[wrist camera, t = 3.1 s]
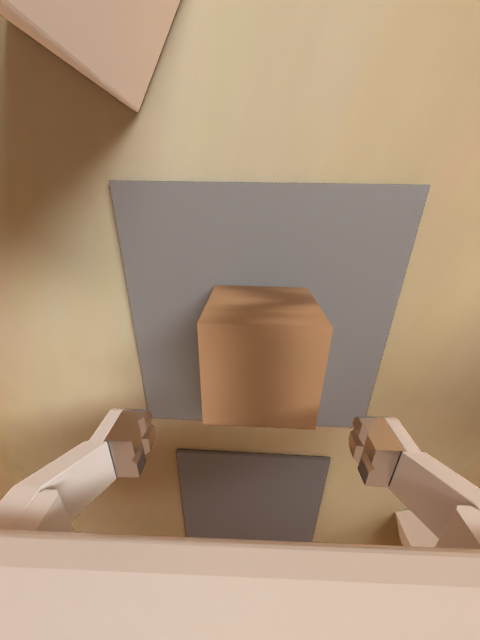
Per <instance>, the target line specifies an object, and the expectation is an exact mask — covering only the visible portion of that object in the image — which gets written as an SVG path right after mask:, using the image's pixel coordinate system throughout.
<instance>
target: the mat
mask: <svg viewBox="0 0 480 640" xmlns="http://www.w3.org/2000/svg"><path fill="white" fill-rule="evenodd" d="M176 454H177V463H178V471H179V479H180V487H181V496H182V504H183V512H184V520H185V528H186V537H197V538H222V539H246V540H270V541H295V542H312V538H313V534H314V530H315V525H316V521H317V516H318V512H319V508H320V503H321V499H322V494H323V490H324V486H325V481H326V477H327V473H328V468H329V464H330V457H317V456H298V455H279V454H260V453H240V452H221V451H202V450H183V449H177V451H176Z"/></svg>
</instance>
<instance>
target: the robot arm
mask: <svg viewBox="0 0 480 640" xmlns="http://www.w3.org/2000/svg"><path fill="white" fill-rule="evenodd" d="M151 419H152V413H151V411H150V410H141V409H118V408H113V409H111V410H110V411H109V412H108V413H107V415H106V416H105V418H104V419H103V421H102V422H101V423H100V425H99V426H98V428H97V429H96V431H95V432H94V434H93V435H92V437H91V438H90V439H89V441H84V442H82V443H80V444H79V445H77V446H76V447H74V448H73V449H71V450H69V451H68V452H66V453H65V454H63V455H62V456H60V457H58V458H57V459H55V460H54V461H52V462H51V463H49V464H47V465H46V466H44V467H43V468H41V469H40V470H38V471H36V472H35V473H33V474H32V475H30V476H29V477H27V478H25V479H24V480H22V481H21V482H19V483H17V484H16V485H14V486H13V487H12V488H11V489H10V490H9V491H8V492H7V494H6V495H5V496H4V497H3V498H2V500H1V501H0V640H480V488H478V487H477V486H475V485H474V484H472V483H471V482H469V481H468V480H466V479H465V478H463V477H462V476H460V475H459V474H457V473H456V472H454V471H453V470H451V469H450V468H448V467H447V466H445V465H444V464H442V463H441V462H439V461H438V460H436V459H435V458H433V457H432V456H430V455H429V454H427V453H426V452H421V451H420V449H419V448H418V447H417V445H416V444H415V442H414V441H413V440H412V438H411V437H410V435H409V434H408V433H407V431H406V430H405V428H404V427H403V426H402V424H401V423H400V421H399V420H398V419H397V418H395V417H364V416H356V417H355V418H354V419H353V423H352V424H353V426H354V428H355V429H354V430H352V431H351V432H350V436H349V447H350V451H351V454H352V456H353V458H354V459H355V460H356V461H357V462H359V466H358V470H359V473H360V475H361V477H362V480H363V482H364V484H365V486H377V487H389V489H390V490H391V491H392V492H393V493H394V494H395V495H396V496H397V497H398V498H399V499H400V500H401V501H402V502H403V503H404V504H405V505H406V506H407V508H408V509H409V510H410V511H411V512H412V513H413V514H414V515H415V516H416V517H417V518H418V519H419V520H420V521H421V522H422V523H423V524H424V525H425V526H426V527H427V528H428V529H429V530H430V531H431V532H432V533H433V534H434V535H435V536H436V537H437V538H438V539H439V540H438V541H437V543H436V545H435V547H416V546H392V545H368V544H344V543H319V542H295V541H270V540H246V539H222V538H197V537H173V536H149V535H125V534H102V533H78V532H74V529H73V527H72V525H71V522H72V521H73V520H74V519H76V518H77V517H78V516H79V515H80V514H81V513H82V512H83V511H84V510H85V509H86V508H87V507H88V506H89V505H90V504H91V503H92V502H93V501H94V500H95V499H96V498H97V497H98V496H99V495H100V494H101V493H102V492H103V491H104V490H105V489H106V488H107V487H108V486H109V485H111V484H112V483H113V482H114V481H115V480H116V477H140V475H141V472H142V470H143V467H144V465H145V462H146V458H145V455H146V454H147V453H148V452H149V451H150V450H151V447H152V445H153V440H154V426H153V425H152V424H151V423H150V421H151Z"/></svg>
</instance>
